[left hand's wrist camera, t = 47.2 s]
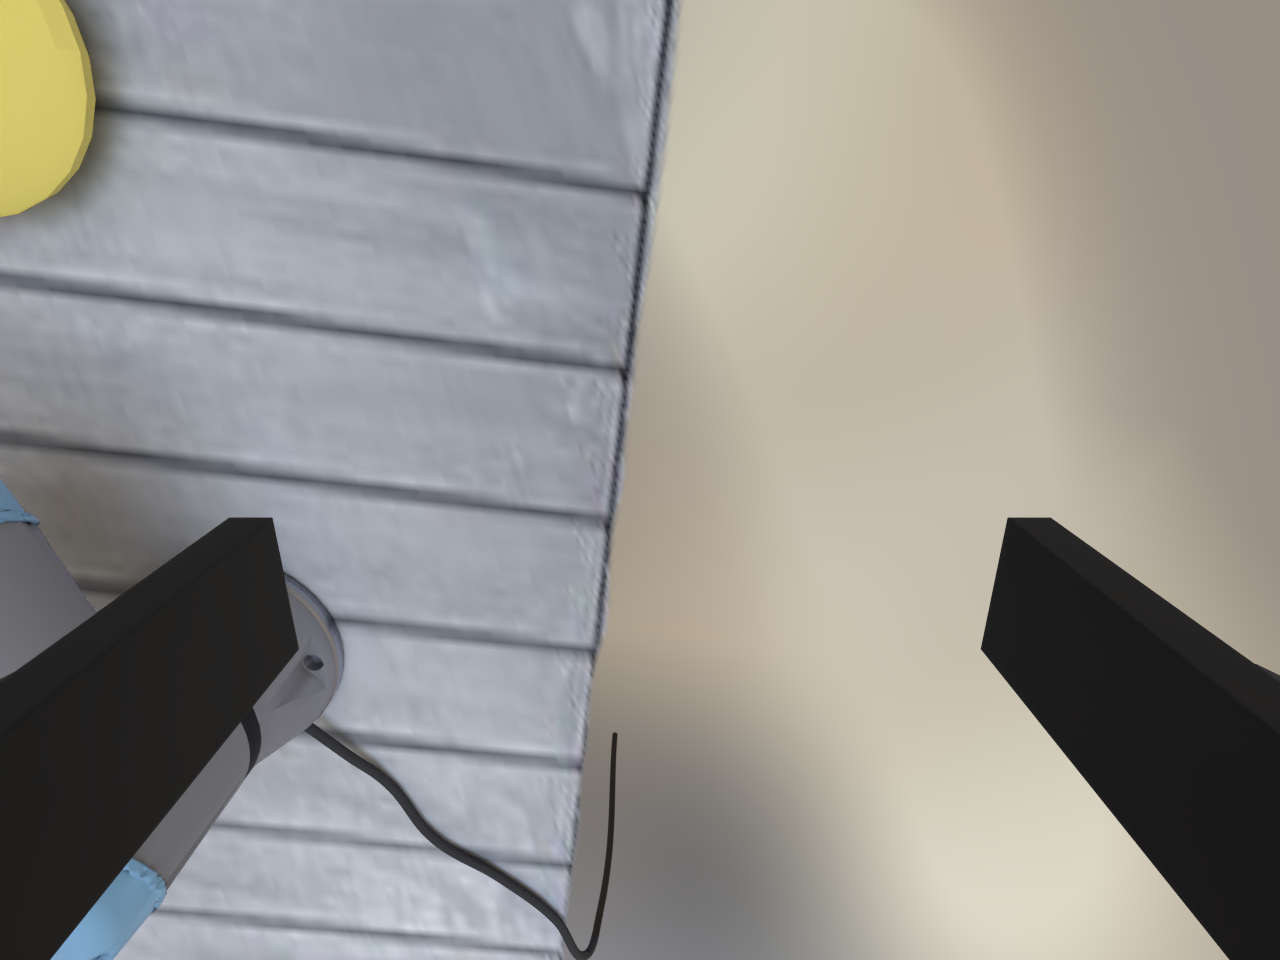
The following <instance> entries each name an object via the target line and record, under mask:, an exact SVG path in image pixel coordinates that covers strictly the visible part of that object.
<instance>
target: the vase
mask: <svg viewBox="0 0 1280 960" xmlns="http://www.w3.org/2000/svg"><path fill="white" fill-rule="evenodd" d="M95 101H96V98H95V91H94V84H93V78H92V71H91V64H90V58H89V55H88V52H87V50H86V47H85V44H84V42H83V39H82V36H81V34H80V31H79V29H78V26H77V23H76V21H75V18H74V15H73V13H72V12H71V10H70V9H69V7H68V5H67V4H66V2H65V1H64V0H0V217H3V216H9V215H14V214H19V213H21V212H23V211H25V210H27V209H29V208H31V207H33V206H35V205H36V204H38V203H40V202H42V201H44V200H45V199H47V198H49V197H51V196H53V195H55V194H56V193H58V192H59V191H60V190H61V189H62V188H63V186H64V185H65V184H66V183H67V182H68V181H69V180H70V178H71V177H72V176H73V175H74V174H75V173H76V172H77V170H78V169H79V168H80V165H81V163H82V160H83V158H84V155H85V153H86V151H87V148H88V146H89V143H90V141H91V138H92V132H93V122H94V112H95Z"/></svg>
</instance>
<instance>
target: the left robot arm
mask: <svg viewBox="0 0 1280 960" xmlns="http://www.w3.org/2000/svg"><path fill="white" fill-rule="evenodd" d="M39 523H40V522H39V521H38V519H37V518H36V517H35V516H34V515H32V514H31V513H27V512H25V510H24V509H23V508H22V506H21V505H20V504H19V502H18V501H17V500H16V499H15V497H14V496H13V495H12V493H11V492H10V491H9V489H8V488H7V487H6V486H5V484H4V483H3V482H2V480H1V479H0V960H113V959H114V957H115V956H116V955H117V954H118V953H119V952H120V950H121V949H122V948H123V947H124V945H125V944H126V943H127V942H128V941H129V939H130V938H131V937H132V936H133V934H134V933H135V932H136V931H137V930H138V928H139V927H140V926H141V925H142V923H143V922H144V921H145V920H146V919H147V917H148V916H149V915H150V914H151V913H153V912H154V911H155V910H156V909H157V908H158V907H159V906H160V905H161V903H162V902H163V900H164V897H165V895H166V894H167V892H166V891H167V889H168V888H169V886H170V885H171V884H172V882H173V881H174V879H175V878H176V876H177V875H178V874H179V872H180V871H181V869H182V868H183V866H184V865H185V864H186V862H187V861H188V859H189V858H190V856H191V855H192V854H193V852H194V851H195V849H196V848H197V847H198V845H199V844H200V842H201V841H202V839H203V838H204V837H205V835H206V834H207V832H208V831H209V829H210V828H211V827H212V825H213V824H214V822H215V821H216V819H217V818H218V817H219V815H220V814H221V812H222V811H223V810H224V808H225V807H226V805H227V804H228V802H229V801H230V800H231V798H232V797H233V795H234V794H235V792H236V791H237V790H238V788H239V787H240V785H241V784H242V782H243V781H244V779H245V778H246V777H247V775H248V774H249V772H250V771H251V770H252V768H253V767H254V766H255V765H256V764H258V763H259V762H260V761H262V760H263V759H265V758H266V757H267V756H269V755H270V754H272V753H273V752H275V751H276V750H277V749H279V748H280V747H282V746H283V745H285V744H286V743H287V742H289V741H290V740H292V739H293V738H294V737H296V736H297V735H299V734H300V733H301V732H303V731H306V732H307V733H308V734H310V735H311V736H313V737H314V738H315V739H317V740H318V741H320V742H321V743H322V744H324V745H325V746H326V747H328V748H329V749H331V750H332V751H333V752H335V753H336V754H338V755H339V756H340V757H342V758H343V759H345V760H346V761H348V762H349V763H351V764H352V765H354V766H355V767H357V768H359V769H360V770H362V771H363V772H365V773H367V774H368V775H370V776H371V777H373V778H374V779H375V780H377V781H378V782H379V783H380V784H382V785H383V786H384V787H385V788H386V789H387V790H388V791H389V792H390V793H391V794H392V795H393V796H394V798H395V799H396V800H397V801H398V803H399V804H400V805H401V807H402V808H403V809H404V811H405V812H406V814H407V815H408V817H409V818H410V820H411V821H412V822H413V824H414V825H415V826H416V828H417V829H418V830H419V831H420V832H421V833H422V834H423V835H424V836H425V837H426V838H427V839H428V840H429V841H430V842H431V843H432V844H434V845H435V846H436V847H437V848H439V849H440V850H442V851H443V852H445V853H446V854H448V855H449V856H451V857H453V858H455V859H456V860H458V861H460V862H462V863H464V864H466V865H468V866H470V867H472V868H474V869H476V870H478V871H480V872H482V873H484V874H486V875H487V876H489V877H491V878H492V879H494V880H496V881H497V882H499V883H500V884H502V885H503V886H505V887H506V888H508V889H509V890H511V891H512V892H514V893H515V894H517V895H518V896H520V897H521V898H523V899H524V900H526V901H527V902H528V903H530V904H531V905H532V906H534V907H535V908H536V909H538V910H539V911H540V912H541V913H542V914H543V915H545V916H546V917H547V918H548V919H549V920H550V921H551V922H552V923H553V924H554V925H555V926H556V927H557V929H558V930H559V932H560V934H561V935H562V937H563V939H564V941H565V943H566V945H567V947H568V949H569V951H570V953H571V954H572V955H573V957H574V958H575V959H576V960H587V959H589V958H590V957H591V956H592V954H593V953H594V951H595V949H596V946H597V943H598V938H599V934H600V928H601V923H602V918H603V912H604V907H605V902H606V897H607V891H608V884H609V878H610V870H611V862H612V851H613V839H614V820H615V783H616V752H617V736H618V734H617V733H616V732H614V733H613V734H612V745H611V763H610V791H609V818H608V834H607V847H606V857H605V866H604V873H603V880H602V886H601V892H600V897H599V902H598V906H597V911H596V916H595V921H594V927H593V931H592V936H591V939H590V943H589V945H588V947H587V949H586V950H585V951H580V950H579V949H578V948H577V946H576V944H575V942H574V940H573V938H572V936H571V934H570V932H569V930H568V928H567V927H566V925H565V924H564V922H563V921H562V919H561V918H560V917H559V916H558V915H557V914H556V913H555V912H554V911H553V910H552V909H551V908H550V907H549V906H547V905H546V904H545V903H544V902H543V901H541V900H540V899H539V898H538V897H536V896H535V895H534V894H532V893H531V892H530V891H528V890H527V889H525V888H524V887H522V886H521V885H519V884H518V883H516V882H515V881H513V880H512V879H510V878H509V877H507V876H506V875H504V874H503V873H501V872H500V871H498V870H497V869H495V868H493V867H492V866H490V865H488V864H486V863H484V862H482V861H480V860H478V859H476V858H474V857H472V856H470V855H469V854H467V853H465V852H463V851H461V850H459V849H457V848H456V847H454V846H452V845H451V844H449V843H448V842H446V841H445V840H443V839H442V838H441V837H440V836H438V835H437V834H436V833H435V832H434V831H433V830H432V829H431V828H430V827H429V826H428V825H427V824H426V823H425V822H424V821H423V819H422V818H421V817H420V815H419V814H418V813H417V811H416V810H415V808H414V807H413V805H412V804H411V802H410V801H409V800H408V798H407V797H406V795H405V794H404V793H403V792H402V790H401V789H400V788H399V787H398V786H397V785H396V784H395V783H394V782H393V781H392V780H391V779H390V778H389V777H388V776H387V775H386V774H385V773H383V772H382V771H381V770H379V769H378V768H377V767H375V766H374V765H372V764H371V763H369V762H367V761H366V760H364V759H363V758H361V757H359V756H358V755H356V754H355V753H353V752H352V751H351V750H349V749H348V748H346V747H345V746H344V745H342V744H341V743H339V742H338V741H337V740H335V739H334V738H332V737H331V736H330V735H328V734H327V733H326V732H324V731H323V730H322V729H320V728H319V727H317V726H316V725H315V724H313V722H314V721H315V720H316V719H317V718H318V717H319V716H320V715H321V714H322V712H323V711H324V710H325V708H326V707H327V705H328V704H329V702H330V701H331V699H332V698H333V696H334V694H335V693H336V691H337V689H338V687H339V684H340V681H341V678H342V674H343V667H344V656H343V648H342V643H341V639H340V636H339V633H338V631H337V629H336V626H335V624H334V622H333V621H332V619H331V617H330V616H329V614H328V613H327V611H326V610H325V608H324V607H323V606H322V605H321V603H320V602H319V601H318V600H317V599H316V598H315V597H314V596H313V595H312V594H311V593H310V592H309V591H308V590H307V589H305V588H304V587H303V586H302V585H300V584H299V583H298V582H296V581H295V580H293V579H292V578H290V577H288V576H287V575H285V574H284V572H283V568H282V563H281V558H280V553H279V548H278V543H277V538H276V533H275V528H274V523H273V519H272V518H228V519H227V520H225V521H224V522H223V523H221V524H220V525H218V526H217V527H216V528H214V529H213V530H212V531H210V532H209V533H207V534H206V535H205V536H203V537H202V538H200V539H199V540H198V541H196V542H195V543H193V544H192V545H191V546H189V547H188V548H186V549H185V550H184V551H182V552H181V553H179V554H178V555H177V556H175V557H174V558H172V559H171V560H170V561H168V562H167V563H165V564H164V565H163V566H161V567H160V568H159V569H157V570H156V571H154V572H153V573H152V574H150V575H149V576H147V577H146V578H145V579H143V580H142V581H140V582H139V583H138V584H136V585H135V586H133V587H132V588H131V589H129V590H128V591H126V592H125V593H124V594H122V595H121V596H119V597H118V598H117V599H115V600H114V601H112V602H111V603H110V604H108V605H107V606H106V607H104V608H103V609H101V610H100V611H99V612H97V613H96V612H95V611H94V609H93V608H92V606H91V605H90V603H89V602H88V600H87V599H86V597H85V596H84V594H83V593H82V591H81V590H80V589H79V587H78V586H77V584H76V583H75V581H74V580H73V578H72V577H71V575H70V574H69V572H68V571H67V569H66V568H65V566H64V565H63V563H62V562H61V560H60V559H59V557H58V556H57V554H56V553H55V551H54V550H53V548H52V547H51V545H50V544H49V543H48V541H47V540H46V538H45V537H44V535H43V534H42V532H41V531H40V529H39V528H38V526H37V525H38V524H39ZM981 650H982V651H983V652H984V654H985V655H986V656H987V657H988V659H989V660H990V661H991V662H992V664H993V665H994V666H995V667H996V669H997V670H998V671H999V672H1000V674H1001V675H1002V676H1003V677H1004V679H1005V680H1006V681H1007V682H1008V684H1009V685H1010V686H1011V687H1012V689H1013V690H1014V691H1015V692H1016V694H1017V695H1018V696H1019V697H1020V699H1021V700H1022V701H1023V702H1024V704H1025V705H1026V706H1027V707H1028V709H1029V710H1030V711H1031V712H1032V714H1033V715H1034V716H1035V717H1036V719H1037V720H1038V721H1039V722H1040V724H1041V725H1042V726H1043V727H1044V729H1045V730H1046V731H1047V732H1048V734H1049V735H1050V736H1051V737H1052V739H1053V740H1054V741H1055V742H1056V743H1057V745H1058V746H1059V747H1060V749H1061V750H1062V751H1063V752H1064V754H1065V755H1066V756H1067V757H1068V759H1069V760H1070V761H1071V762H1072V764H1073V765H1074V766H1075V767H1076V769H1077V770H1078V771H1079V772H1080V774H1081V775H1082V776H1083V777H1084V778H1085V780H1086V781H1087V782H1088V783H1089V785H1090V786H1091V787H1092V788H1093V790H1094V791H1095V792H1096V794H1097V795H1098V796H1099V797H1100V799H1101V800H1102V801H1103V802H1104V804H1105V805H1106V806H1107V807H1108V809H1109V810H1110V811H1111V812H1112V813H1113V815H1114V816H1115V817H1116V818H1117V820H1118V821H1119V822H1120V824H1121V825H1122V826H1123V827H1124V829H1125V830H1126V831H1127V832H1128V833H1129V835H1130V836H1131V837H1132V838H1133V840H1134V841H1135V842H1136V843H1137V845H1138V846H1139V847H1140V848H1141V850H1142V851H1143V852H1144V853H1145V855H1146V856H1147V857H1148V858H1149V860H1150V861H1151V862H1152V863H1153V865H1154V866H1155V867H1156V868H1157V870H1158V871H1159V872H1160V873H1161V875H1162V876H1163V877H1164V878H1165V880H1166V881H1167V882H1168V883H1169V885H1170V886H1171V887H1172V888H1173V890H1174V891H1175V892H1176V893H1177V895H1178V896H1179V897H1180V898H1181V900H1182V901H1183V902H1184V903H1185V905H1186V906H1187V907H1188V908H1189V910H1190V911H1191V912H1192V913H1193V915H1194V916H1195V917H1196V918H1197V920H1198V921H1199V922H1200V923H1201V925H1202V926H1203V927H1204V928H1205V930H1206V931H1207V932H1208V933H1209V935H1210V936H1211V937H1212V938H1213V940H1214V941H1215V942H1216V943H1217V945H1218V946H1219V947H1220V948H1221V950H1222V951H1223V952H1224V953H1225V955H1226V956H1227V957H1228V958H1229V960H1280V675H1278V674H1276V673H1274V672H1271V671H1269V670H1267V669H1265V668H1263V667H1261V666H1259V665H1257V664H1254V663H1253V662H1251V661H1250V660H1248V659H1247V658H1246V657H1244V656H1243V655H1241V654H1240V653H1239V652H1237V651H1236V650H1234V649H1233V648H1232V647H1230V646H1229V645H1227V644H1226V643H1225V642H1223V641H1222V640H1220V639H1219V638H1218V637H1216V636H1215V635H1214V634H1212V633H1211V632H1209V631H1208V630H1206V629H1205V628H1204V627H1202V626H1201V625H1200V624H1198V623H1197V622H1195V621H1194V620H1193V619H1191V618H1190V617H1188V616H1187V615H1186V614H1184V613H1183V612H1181V611H1180V610H1179V609H1177V608H1176V607H1174V606H1173V605H1172V604H1170V603H1169V602H1168V601H1166V600H1165V599H1163V598H1162V597H1161V596H1159V595H1158V594H1156V593H1155V592H1154V591H1152V590H1151V589H1149V588H1148V587H1147V586H1145V585H1144V584H1142V583H1141V582H1140V581H1138V580H1137V579H1135V578H1134V577H1133V576H1131V575H1130V574H1128V573H1127V572H1126V571H1124V570H1123V569H1121V568H1120V567H1119V566H1117V565H1116V564H1115V563H1113V562H1112V561H1110V560H1109V559H1108V558H1106V557H1105V556H1103V555H1102V554H1101V553H1099V552H1098V551H1096V550H1095V549H1094V548H1092V547H1091V546H1089V545H1088V544H1087V543H1085V542H1084V541H1082V540H1081V539H1080V538H1078V537H1077V536H1075V535H1074V534H1073V533H1071V532H1070V531H1068V530H1067V529H1066V528H1064V527H1063V526H1062V525H1060V524H1059V523H1057V522H1056V521H1055V520H1053V519H1052V518H1008V519H1007V524H1006V528H1005V533H1004V538H1003V543H1002V548H1001V553H1000V558H999V563H998V568H997V572H996V578H995V582H994V587H993V592H992V597H991V602H990V607H989V612H988V617H987V621H986V627H985V631H984V636H983V641H982V646H981Z"/></svg>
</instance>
